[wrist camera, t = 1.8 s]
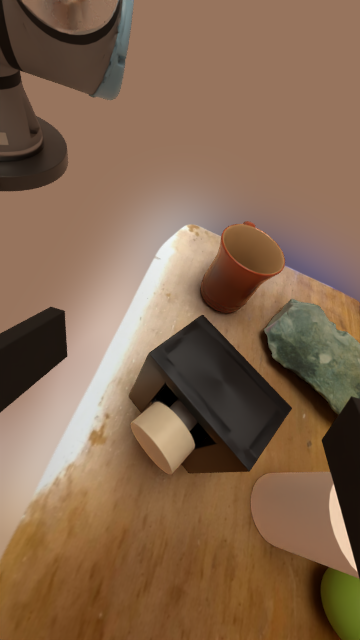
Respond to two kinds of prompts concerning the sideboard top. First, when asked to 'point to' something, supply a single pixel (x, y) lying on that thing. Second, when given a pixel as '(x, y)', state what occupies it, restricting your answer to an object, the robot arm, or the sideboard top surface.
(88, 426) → the sideboard top surface
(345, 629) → the snail figurine
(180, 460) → the knob
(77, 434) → the sideboard top surface
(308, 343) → the decorative stone
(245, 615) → the sideboard top surface
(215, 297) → the mug
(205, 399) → the control box
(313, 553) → the candle
